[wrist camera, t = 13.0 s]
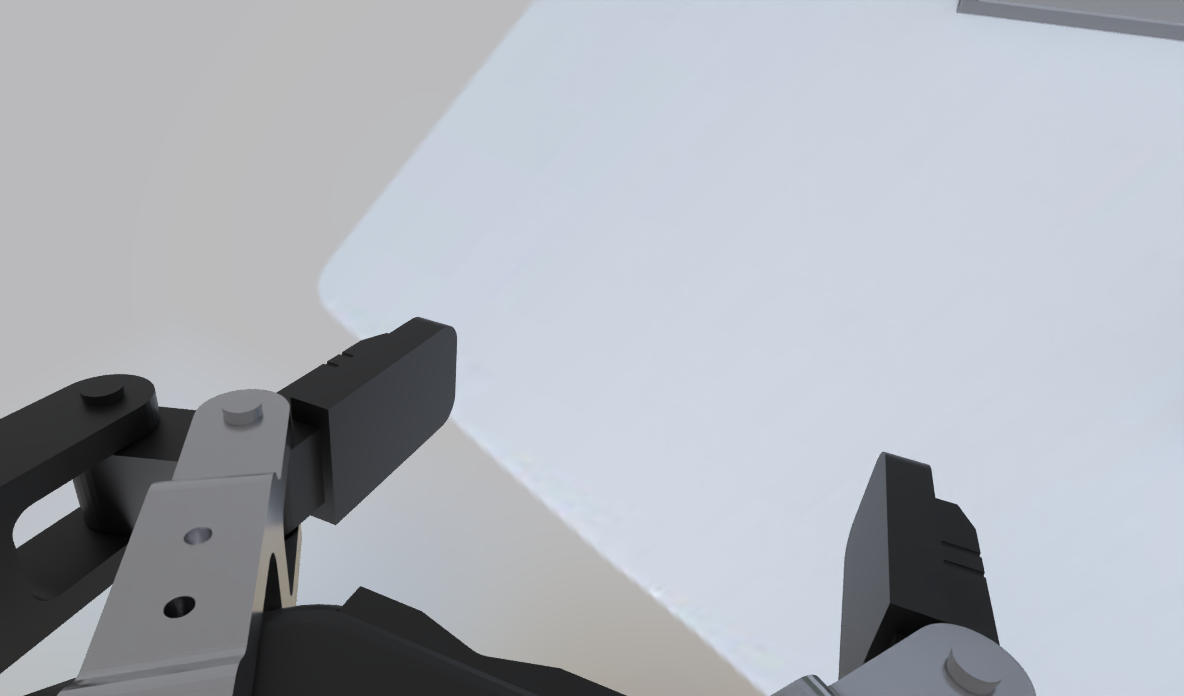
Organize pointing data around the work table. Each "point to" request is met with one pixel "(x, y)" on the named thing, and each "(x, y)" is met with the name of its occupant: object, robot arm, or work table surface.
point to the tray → (1090, 14)
